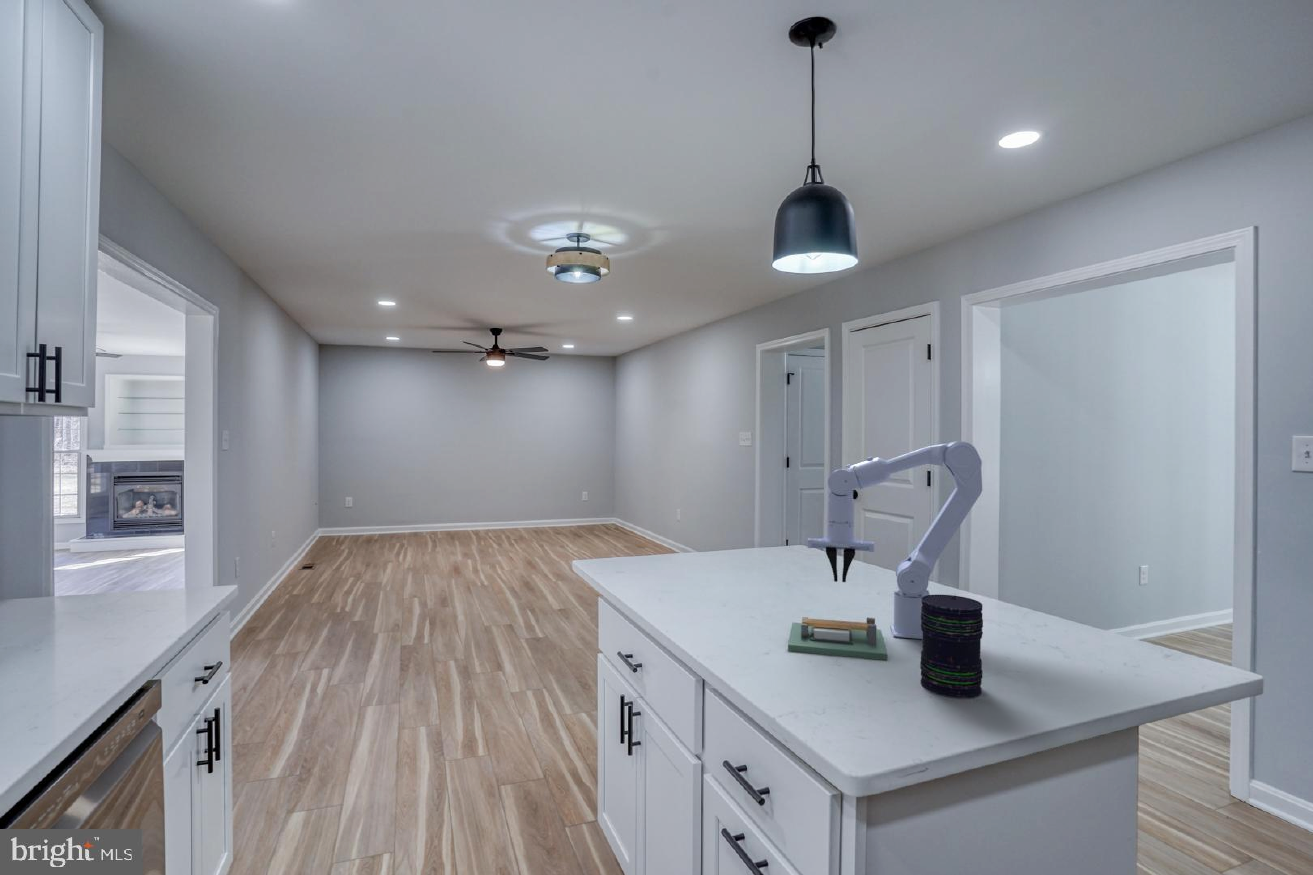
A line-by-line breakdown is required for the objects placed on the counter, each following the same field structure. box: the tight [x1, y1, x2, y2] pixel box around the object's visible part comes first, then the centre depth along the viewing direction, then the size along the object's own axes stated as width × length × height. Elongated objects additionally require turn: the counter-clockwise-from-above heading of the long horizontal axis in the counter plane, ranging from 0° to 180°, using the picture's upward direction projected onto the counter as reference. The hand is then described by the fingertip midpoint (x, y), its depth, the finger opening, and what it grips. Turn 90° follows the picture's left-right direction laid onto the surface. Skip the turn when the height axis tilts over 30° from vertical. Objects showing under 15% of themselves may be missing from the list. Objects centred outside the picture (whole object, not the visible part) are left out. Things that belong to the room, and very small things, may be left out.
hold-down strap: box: [801, 617, 873, 631], centre depth 134 cm, size 15×3×2 cm, turn 75°
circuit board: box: [787, 616, 888, 661], centre depth 134 cm, size 19×16×5 cm
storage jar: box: [919, 594, 984, 700], centre depth 111 cm, size 10×10×15 cm
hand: (839, 581), depth 145 cm, fingers closed
